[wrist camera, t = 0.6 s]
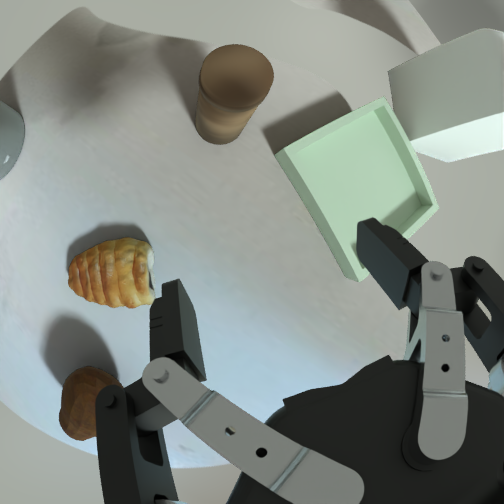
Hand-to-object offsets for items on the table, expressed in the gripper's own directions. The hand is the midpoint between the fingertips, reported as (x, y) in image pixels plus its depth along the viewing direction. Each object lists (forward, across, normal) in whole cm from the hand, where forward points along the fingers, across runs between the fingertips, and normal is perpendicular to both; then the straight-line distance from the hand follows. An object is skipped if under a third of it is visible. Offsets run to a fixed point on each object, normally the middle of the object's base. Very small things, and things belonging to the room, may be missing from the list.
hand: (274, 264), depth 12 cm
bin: (+17, -16, +8) cm, 24 cm away
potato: (+8, +21, +17) cm, 28 cm away
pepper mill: (+21, -1, -2) cm, 21 cm away
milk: (+22, -30, +2) cm, 38 cm away
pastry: (+14, +13, +8) cm, 21 cm away
